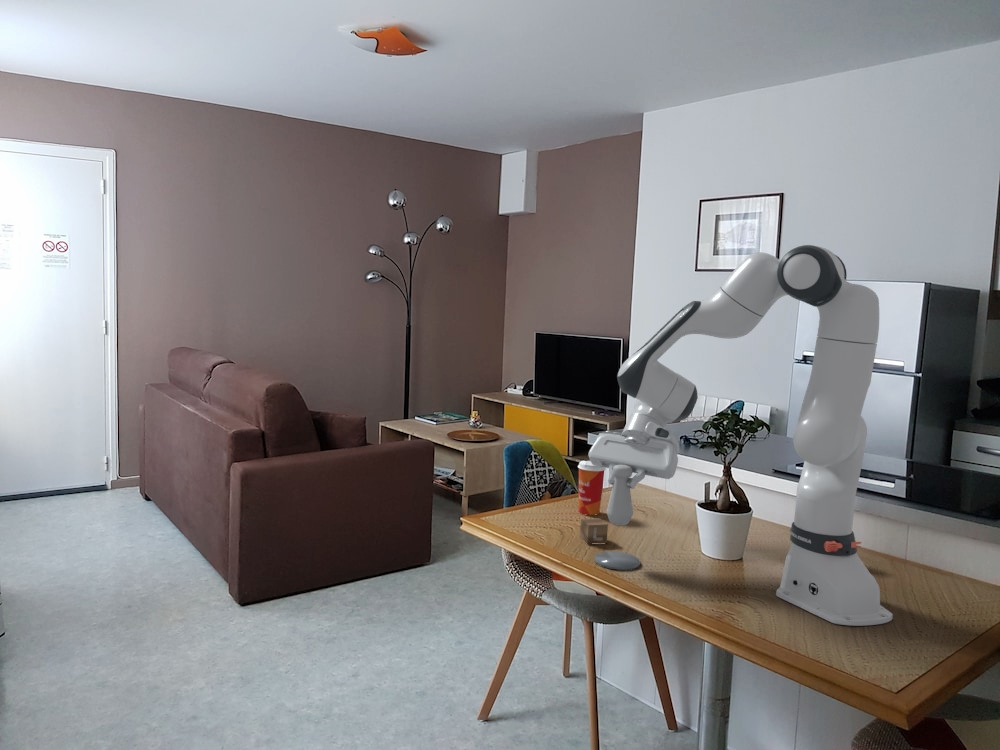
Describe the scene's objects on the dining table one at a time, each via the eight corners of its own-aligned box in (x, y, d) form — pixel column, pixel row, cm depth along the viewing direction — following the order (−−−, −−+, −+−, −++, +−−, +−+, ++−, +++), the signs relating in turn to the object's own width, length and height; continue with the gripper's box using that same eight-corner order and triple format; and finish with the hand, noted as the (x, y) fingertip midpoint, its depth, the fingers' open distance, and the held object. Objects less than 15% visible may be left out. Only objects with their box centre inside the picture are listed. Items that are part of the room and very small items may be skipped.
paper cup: (571, 508, 214) (574, 459, 212) (598, 508, 215) (601, 459, 214) (579, 517, 206) (582, 466, 205) (606, 516, 208) (610, 466, 206)
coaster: (647, 569, 169) (647, 565, 168) (605, 571, 166) (605, 568, 166) (627, 553, 178) (627, 550, 178) (587, 556, 175) (588, 552, 175)
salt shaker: (632, 519, 174) (635, 463, 172) (632, 527, 168) (636, 469, 166) (606, 517, 174) (609, 461, 173) (605, 525, 169) (609, 467, 167)
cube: (606, 544, 184) (608, 524, 184) (587, 545, 183) (588, 525, 183) (598, 537, 189) (599, 518, 189) (579, 538, 188) (580, 518, 188)
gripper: (597, 421, 180) (575, 469, 173) (680, 434, 169) (660, 485, 162) (604, 437, 184) (583, 484, 177) (686, 451, 173) (666, 501, 166)
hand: (620, 485), depth 170 cm, fingers closed on salt shaker, 3 cm apart
